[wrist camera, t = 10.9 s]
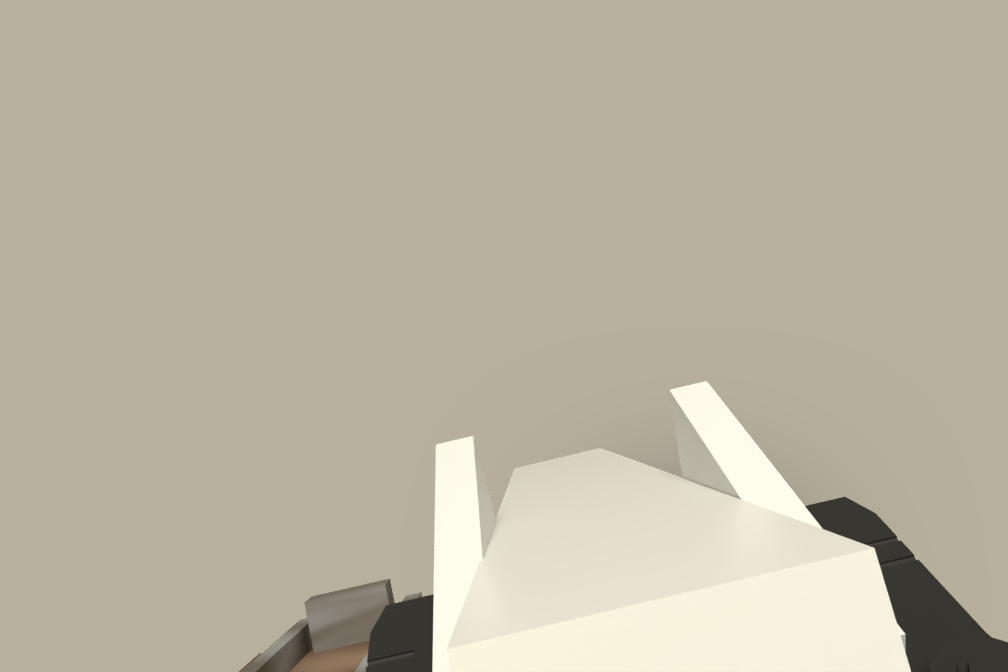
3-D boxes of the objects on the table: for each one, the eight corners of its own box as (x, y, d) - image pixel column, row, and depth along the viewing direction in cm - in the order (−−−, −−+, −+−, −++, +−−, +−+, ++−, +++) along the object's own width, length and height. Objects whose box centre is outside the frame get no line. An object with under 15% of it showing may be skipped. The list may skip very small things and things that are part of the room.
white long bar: (1016, 1026, 6) (873, 548, 6) (551, 1132, 6) (447, 648, 6) (622, 536, 32) (600, 447, 32) (535, 556, 32) (514, 468, 32)
